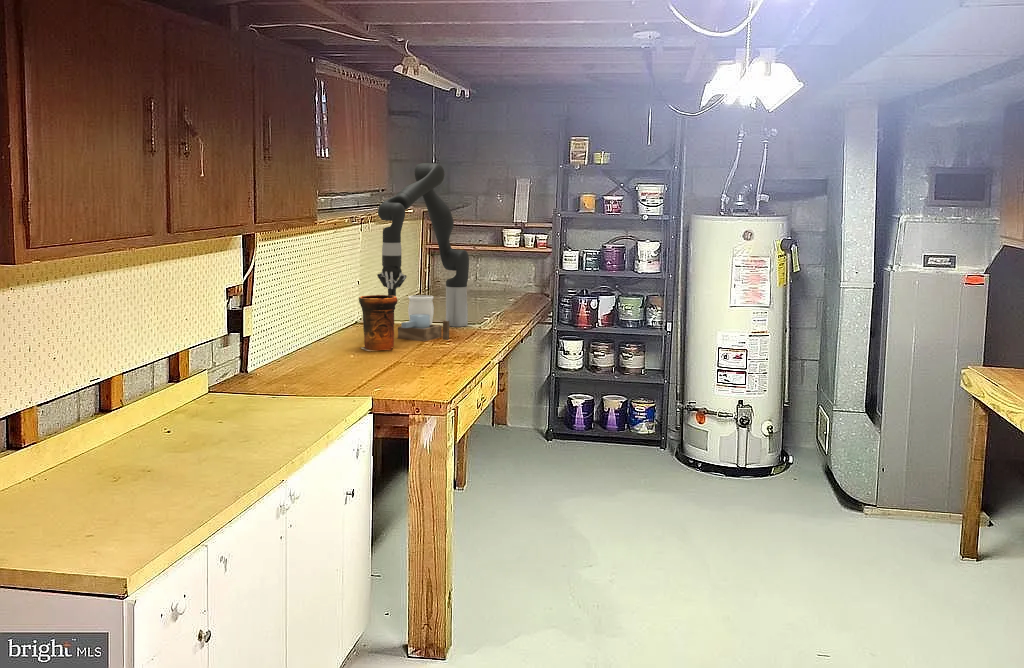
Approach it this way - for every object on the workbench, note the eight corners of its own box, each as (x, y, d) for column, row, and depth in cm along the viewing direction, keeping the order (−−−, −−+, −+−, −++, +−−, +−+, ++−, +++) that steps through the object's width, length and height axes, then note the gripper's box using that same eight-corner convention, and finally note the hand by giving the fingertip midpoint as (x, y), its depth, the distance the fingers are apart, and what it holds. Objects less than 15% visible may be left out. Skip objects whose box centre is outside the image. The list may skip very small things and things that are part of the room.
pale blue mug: (417, 335, 401) (417, 313, 400) (433, 337, 397) (433, 314, 396) (395, 340, 388) (395, 317, 387) (412, 342, 384) (412, 319, 383)
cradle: (415, 335, 405) (415, 316, 404) (454, 339, 396) (454, 320, 395) (396, 340, 393) (395, 320, 392) (435, 344, 384) (435, 324, 383)
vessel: (365, 352, 364) (365, 298, 361) (354, 347, 377) (354, 295, 374) (403, 350, 370) (402, 297, 368) (391, 345, 383) (390, 294, 380)
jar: (435, 330, 420) (435, 295, 418) (431, 333, 410) (431, 298, 408) (411, 329, 421) (410, 294, 419) (406, 333, 411) (405, 297, 409)
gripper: (411, 254, 386) (411, 298, 389) (383, 252, 393) (384, 296, 395) (400, 255, 380) (400, 300, 382) (372, 253, 386) (372, 298, 389)
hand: (391, 298), depth 389 cm, fingers closed
